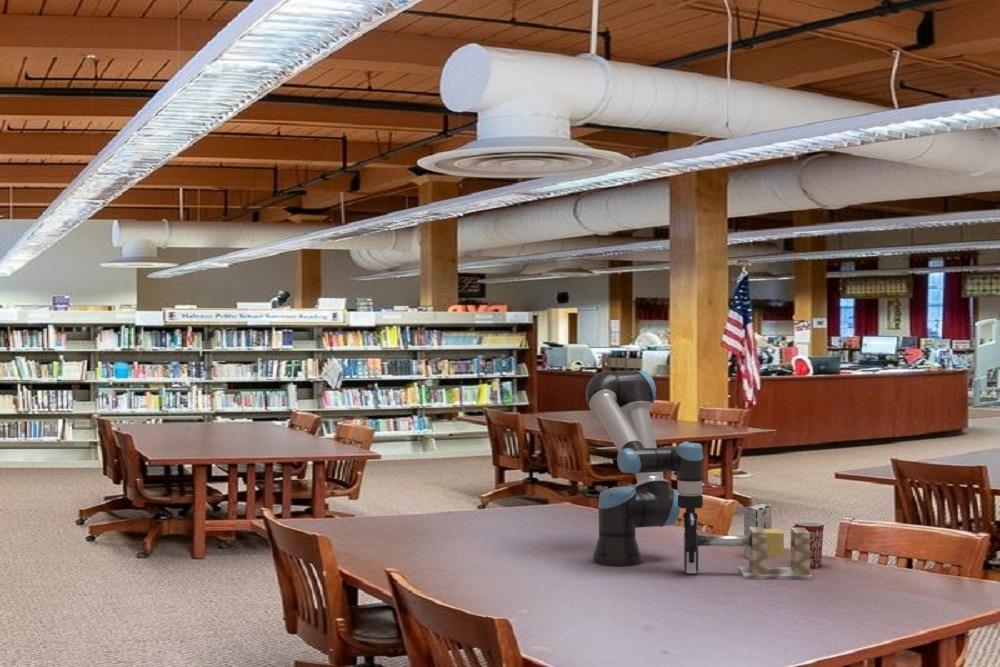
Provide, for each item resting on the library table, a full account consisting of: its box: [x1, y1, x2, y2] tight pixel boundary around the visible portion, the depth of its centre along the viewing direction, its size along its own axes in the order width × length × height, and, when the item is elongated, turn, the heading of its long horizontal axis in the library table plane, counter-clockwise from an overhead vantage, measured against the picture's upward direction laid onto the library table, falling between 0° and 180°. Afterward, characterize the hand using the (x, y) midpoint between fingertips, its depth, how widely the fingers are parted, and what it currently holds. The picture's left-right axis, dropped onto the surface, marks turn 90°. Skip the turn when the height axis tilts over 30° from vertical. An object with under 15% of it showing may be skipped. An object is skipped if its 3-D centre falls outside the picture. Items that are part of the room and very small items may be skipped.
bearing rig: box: [738, 527, 813, 581], centre depth 358 cm, size 20×13×14 cm, turn 85°
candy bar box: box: [743, 503, 772, 559], centre depth 388 cm, size 11×5×16 cm, turn 143°
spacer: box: [764, 528, 785, 558], centre depth 358 cm, size 5×8×7 cm, turn 175°
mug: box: [791, 520, 825, 569], centre depth 373 cm, size 13×9×14 cm
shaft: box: [683, 532, 752, 573], centre depth 359 cm, size 24×4×11 cm, turn 85°
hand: (690, 571), depth 360 cm, fingers closed on shaft, 4 cm apart
